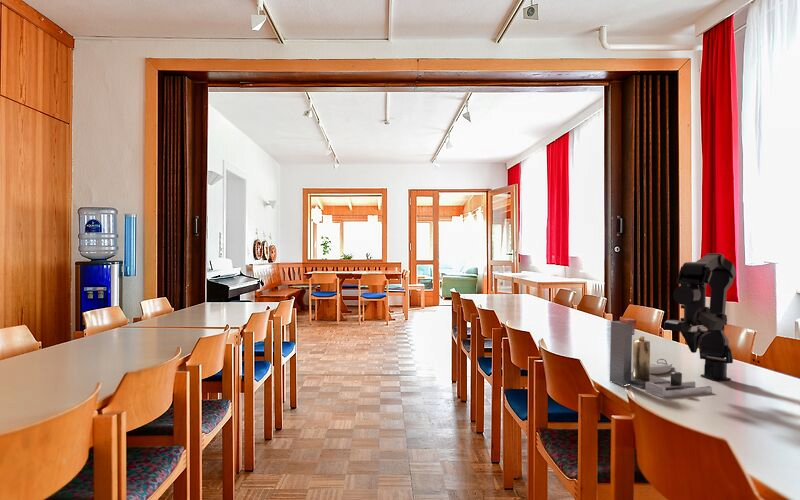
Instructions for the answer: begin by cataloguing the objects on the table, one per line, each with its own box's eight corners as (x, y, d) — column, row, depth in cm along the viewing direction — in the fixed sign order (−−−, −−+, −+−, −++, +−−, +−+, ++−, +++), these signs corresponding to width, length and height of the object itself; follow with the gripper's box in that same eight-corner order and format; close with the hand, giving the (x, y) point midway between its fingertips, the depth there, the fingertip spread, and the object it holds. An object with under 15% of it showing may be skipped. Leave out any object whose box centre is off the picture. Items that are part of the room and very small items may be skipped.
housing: (649, 376, 158) (650, 336, 158) (649, 379, 154) (650, 338, 154) (632, 374, 160) (633, 334, 160) (632, 377, 156) (633, 336, 156)
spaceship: (650, 378, 161) (650, 365, 161) (632, 373, 167) (632, 361, 167) (683, 369, 175) (683, 357, 175) (665, 365, 180) (665, 353, 180)
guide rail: (693, 386, 152) (693, 377, 152) (711, 392, 146) (711, 383, 146) (645, 391, 146) (645, 381, 146) (662, 397, 140) (662, 387, 140)
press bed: (640, 375, 164) (642, 315, 164) (670, 385, 153) (671, 321, 153) (603, 378, 160) (604, 316, 159) (630, 389, 148) (632, 322, 148)
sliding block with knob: (675, 390, 148) (675, 371, 148) (683, 393, 145) (684, 373, 145) (655, 392, 145) (655, 373, 145) (663, 395, 143) (664, 375, 143)
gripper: (695, 306, 137) (694, 360, 137) (742, 305, 143) (740, 356, 143) (663, 302, 148) (662, 351, 148) (707, 301, 154) (706, 349, 154)
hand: (693, 352), depth 148 cm, fingers closed
